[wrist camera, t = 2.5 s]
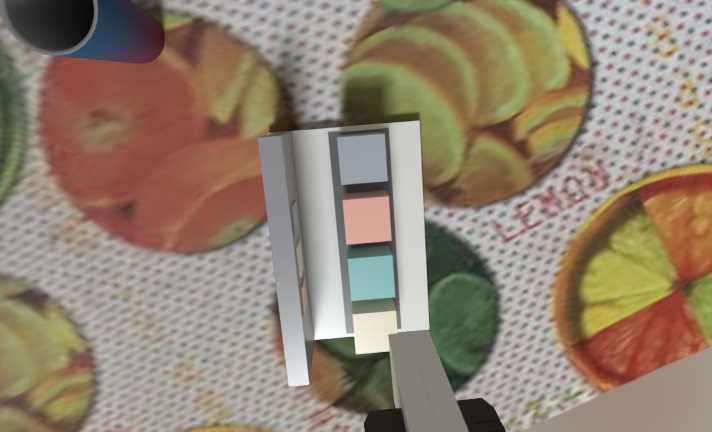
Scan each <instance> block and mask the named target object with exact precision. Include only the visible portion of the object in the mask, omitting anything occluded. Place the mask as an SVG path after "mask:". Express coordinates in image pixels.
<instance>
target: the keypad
mask: <svg viewBox="0 0 712 432" xmlns="http://www.w3.org/2000/svg"><path fill="white" fill-rule="evenodd" d="M376 132H382V133H384V134H385V145H386V161H387V177H388V181H382V182H370V183H358V184H347V185H341V177H340V166H339V154H338V143H337V136H340V135H352V134H364V133H376ZM258 146H259V154H260V162H261V170H262V177H263V185H264V193H265V201H266V209H267V217H268V225H269V233H270V241H271V249H272V257H273V264H274V272H275V280H276V288H277V296H278V304H279V312H280V320H281V328H282V336H283V344H284V352H285V359H286V367H287V375H288V383H289V386H300V385H309V384H310V375H311V365H312V356H313V347H314V340H317V339H328V338H339V337H350V336H354V325H353V314H352V301H351V291H350V280H349V268H348V256H347V249H351V248H362V247H374V246H385V245H389V247H390V250H391V252H392V255H393V270H394V285H395V297H392V298H393V302H394V305H395V309H396V316H397V332H406V331H417V330H428V329H429V312H428V291H427V270H426V249H425V228H424V206H423V185H422V164H421V143H420V122H419V121H406V122H394V123H381V124H369V125H357V126H345V127H333V128H321V129H308V130H296V131H284V132H272V133H268V134H267V135H264V136H261V137H258ZM382 190H385V191H386V192H387V194H388V196H389V208H390V223H391V239H392V241H384V242H372V243H361V244H349V245H346V234H345V223H344V211H343V200H342V194H347V193H358V192H370V191H382Z"/></svg>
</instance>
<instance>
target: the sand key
mask: <svg viewBox="0 0 712 432" xmlns="http://www.w3.org/2000/svg"><path fill="white" fill-rule="evenodd" d="M352 314H353V325H354V337H355V348H356V354H363V353H374V352H385V351H390V349H389V338H388V334H396V333H398V332H397V316H396V309H395V305H394V302H393V298H392V297H391V298H380V299H369V300H357V301H352Z"/></svg>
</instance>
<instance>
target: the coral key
mask: <svg viewBox="0 0 712 432" xmlns="http://www.w3.org/2000/svg"><path fill="white" fill-rule="evenodd" d="M342 200H343V211H344V223H345V234H346V245H349V244H361V243H372V242H384V241H392V239H391V223H390V208H389V196H388V194H387V192H386V191H385V190H382V191H370V192H358V193H347V194H342Z"/></svg>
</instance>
